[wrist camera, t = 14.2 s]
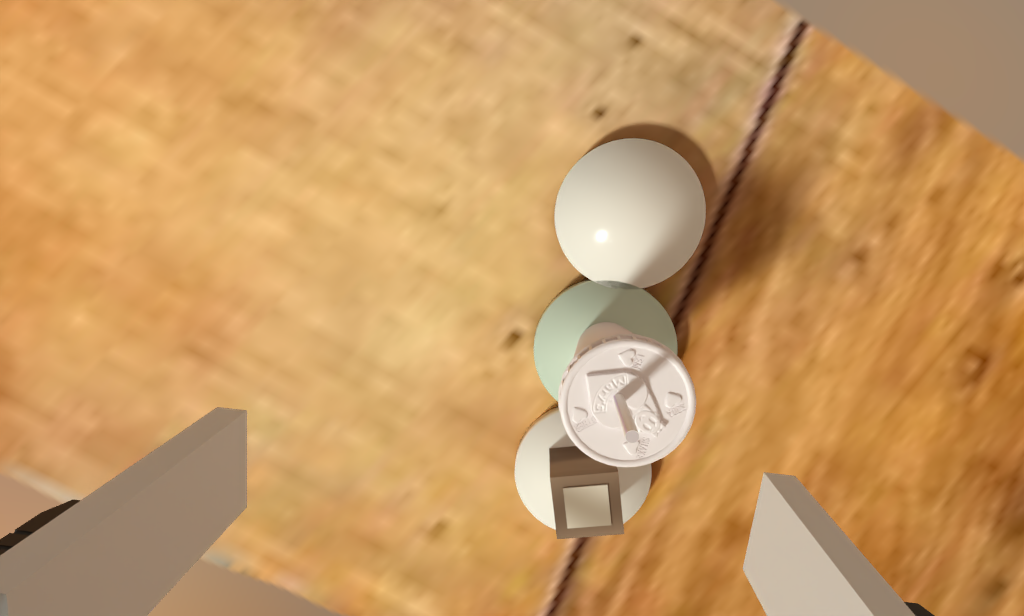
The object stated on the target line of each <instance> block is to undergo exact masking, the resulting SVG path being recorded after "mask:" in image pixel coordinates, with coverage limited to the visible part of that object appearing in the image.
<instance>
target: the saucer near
mask: <svg viewBox="0 0 1024 616" xmlns="http://www.w3.org/2000/svg"><path fill="white" fill-rule="evenodd" d="M554 218H555V228H556V234H557V237H558V240H559V243H560V246H561V248H562V250H563V252H564V254H565V255H566V257H567V258H568V260H569V261H570V262H571V264H572V265H573V266H574V267H575V268H576V269H577V270H578V271H579V272H580V273H581V274H583V275H584V276H585V277H587V278H588V279H590V280H592V281H594V282H596V281H600V282H596V283H598V284H600V285H601V284H602V285H603V284H604V285H603V286H606V285H610V284H614V285H616V284H617V283H616V282H619V281H620V282H619V283H618V284H619V285H620V286H619V285H618V284H617V285H618V286H619V287H622V286H623V285H622V284H620V283H622V282H623V284H624V283H626V285H625V284H624V285H625V286H628V285H627V284H629V285H630V286H631V285H634V287H635V286H637V287H639V288H640V289H641V288H646V287H649V286H652V285H655V284H658V283H660V282H662V281H664V280H666V279H667V278H669V277H671V276H672V275H673V274H675V273H676V272H677V271H679V270H680V269H681V268H682V267H683V266H684V265H685V264H686V263H687V261H688V260H689V259H690V257H691V256H692V255H693V253H694V251H695V250H696V248H697V246H698V244H699V242H700V239H701V237H702V234H703V230H704V226H705V219H706V204H705V196H704V192H703V189H702V186H701V183H700V181H699V178H698V177H697V175H696V173H695V172H694V170H693V168H692V167H691V166H690V165H689V163H688V162H687V161H686V160H685V159H684V158H683V157H682V156H681V155H679V154H678V153H677V152H675V151H674V150H673V149H671V148H669V147H667V146H665V145H663V144H661V143H658V142H655V141H651V140H647V139H639V138H627V139H620V140H615V141H611V142H608V143H605V144H603V145H601V146H599V147H597V148H595V149H593V150H592V151H590V152H589V153H587V154H586V155H585V156H583V157H582V158H581V159H580V160H579V161H578V162H577V163H576V164H575V165H574V166H573V167H572V168H571V170H570V171H569V173H568V174H567V175H566V177H565V179H564V181H563V183H562V185H561V187H560V189H559V192H558V195H557V199H556V203H555V213H554ZM605 280H606V281H607V282H606V281H605ZM608 280H609V281H610V280H611V281H610V282H611V283H609V284H606V283H608V282H609V281H608ZM613 281H614V282H615V283H614V282H613ZM601 282H602V283H601ZM605 284H606V285H605ZM614 285H612V286H611V285H610V286H611V287H610V286H606V287H609V288H614V287H615V286H614ZM617 285H616V287H615V289H617V288H618V286H617ZM613 286H614V287H613ZM630 286H628V287H629V289H630ZM632 287H633V286H632ZM632 287H631V288H632ZM637 287H636V288H637ZM623 288H624V286H623ZM623 288H622V289H623ZM636 288H635V289H636ZM629 289H628V290H629ZM632 289H633V288H632ZM623 290H624V289H623ZM625 290H626V287H625Z"/></svg>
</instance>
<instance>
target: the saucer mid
mask: <svg viewBox="0 0 1024 616" xmlns="http://www.w3.org/2000/svg"><path fill="white" fill-rule="evenodd" d="M605 281H606V280H605ZM608 281H609V280H608ZM610 281H611V280H610ZM610 281H609V282H608V283H606V284H609V283H611V282H610ZM596 282H600V281H596ZM596 282H594V281H592V280H590V279H588V280H585V281H582V282H578V283H576V284H574V285H572V286H570V287H568V288H567V289H565V290H564V291H562V292H561V293H560V294H558V295H557V296H556V297H555V298H554V299H553V300H552V301H551V302H550V303H549V305H548V306H547V307H546V309H545V310H544V312H543V314H542V316H541V318H540V320H539V322H538V325H537V328H536V333H535V340H534V360H535V365H536V369H537V372H538V375H539V377H540V379H541V381H542V383H543V385H544V386H545V388H546V389H547V391H548V392H549V393H550V394H551V395H552V396H553V398H555V399H556V400H557V401H558V390H559V386H560V383H561V379H562V376H563V373H564V371H565V370H566V368H567V366H568V365H569V363H570V362H571V360H572V359H573V357H574V354H575V350H576V347H577V343H578V340H579V338H580V336H581V335H582V333H583V332H584V331H585V330H586V329H587V328H589V327H590V326H592V325H594V324H597V323H601V322H612V323H616V324H618V325H620V326H622V327H624V328H625V329H627V330H629V331H630V332H632V333H634V334H637V335H641V336H645V337H649V338H652V339H655V340H656V341H658V342H660V343H662V344H663V345H665V346H667V347H669V348H670V349H671V350H672V351H673V352H674V353H675V354H676V355H677V337H676V332H675V329H674V325H673V323H672V321H671V319H670V317H669V315H668V313H667V312H666V310H665V309H664V308H663V306H662V305H661V304H660V303H659V302H658V301H657V300H656V299H655V298H654V297H653V296H652V295H651V294H650V293H648V292H647V291H645V290H644V289H643V288H641V289H640V288H639V287H637V286H635V287H634V285H631V286H630V285H629V284H627V285H628V286H630V289H629V287H628V286H625V285H626V283H624V284H625V285H624V284H623V282H622V283H620V284H622V285H623V286H624V288H623V286H622V287H619V286H620V285H619V284H618V283H619V282H620V281H619V282H616V283H617V284H618V285H619V286H618V285H617V284H616V285H617V286H618V288H617V289H615V287H616V285H614V284H610V285H611V286H612V285H614V286H615V287H614V286H613V287H614V288H609V287H606V286H610V285H606V284H605V285H606V286H603V285H604V284H603V285H602V284H601V285H600V284H598V283H596ZM606 282H607V281H606ZM613 282H614V281H613ZM601 283H602V282H601ZM614 283H615V282H614ZM611 286H610V287H611ZM632 286H633V287H632ZM625 287H626V290H625ZM631 287H632V288H633V289H632V288H631ZM636 287H637V288H636ZM622 288H623V289H624V290H623V289H622ZM635 288H636V289H635ZM628 289H629V290H628Z"/></svg>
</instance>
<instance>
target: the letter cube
mask: <svg viewBox="0 0 1024 616" xmlns="http://www.w3.org/2000/svg"><path fill="white" fill-rule="evenodd" d="M549 461H550V483H551V492H552V500H553V509H554V517H555V526H556V534H557V539H565V538H578V537H591V536H604V535H617V534H624V527H623V517H622V506H621V495H620V485H619V474H618V469H617V467H616V466H611V465H607V464H604V463H601V462H599V461H596V460H594V459H593V458H591V457H589V456H588V455H586V454H585V453H583V452H582V451H581V450H580V449H579V448H578V447H577V446H570V447H559V448H549Z"/></svg>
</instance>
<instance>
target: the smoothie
mask: <svg viewBox="0 0 1024 616" xmlns="http://www.w3.org/2000/svg"><path fill="white" fill-rule="evenodd" d="M558 407H559V410H560V414H561V419H562V422H563V425H564V428H565V430H566V432H567V434H568V436H569V437H570V439H571V440H572V441H573V443H574V444H575V445H576V446H577V447H578V448H579V449H580V450H581V451H582V452H583V453H585V454H586V455H588V456H589V457H591V458H593V459H594V460H596V461H599V462H601V463H604V464H607V465H611V466H616V467H637V466H642V465H647V464H650V463H653V462H655V461H657V460H659V459H661V458H663V457H665V456H666V455H668V454H669V453H670V452H672V451H673V450H674V449H675V448H676V447H677V446H678V445H679V444H680V443H681V442H682V440H683V439H684V438H685V436H686V435H687V433H688V431H689V429H690V427H691V425H692V422H693V419H694V415H695V409H696V396H695V389H694V385H693V382H692V380H691V377H690V375H689V373H688V372H687V370H686V368H685V366H684V364H683V363H682V361H681V359H680V358H679V357H678V356H677V355H676V354H675V353H674V352H673V351H672V350H671V349H670V348H669V347H667V346H665V345H663V344H662V343H660V342H658V341H656V340H655V339H652V338H649V337H645V336H641V335H637V334H634V333H632V332H630V331H629V330H627V329H625V328H624V327H622V326H620V325H618V324H616V323H612V322H601V323H597V324H594V325H592V326H590V327H589V328H587V329H586V330H585V331H584V332H583V333H582V335H581V336H580V338H579V340H578V343H577V347H576V350H575V354H574V357H573V359H572V360H571V362H570V363H569V365H568V366H567V368H566V370H565V371H564V373H563V376H562V379H561V383H560V386H559V390H558Z"/></svg>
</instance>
